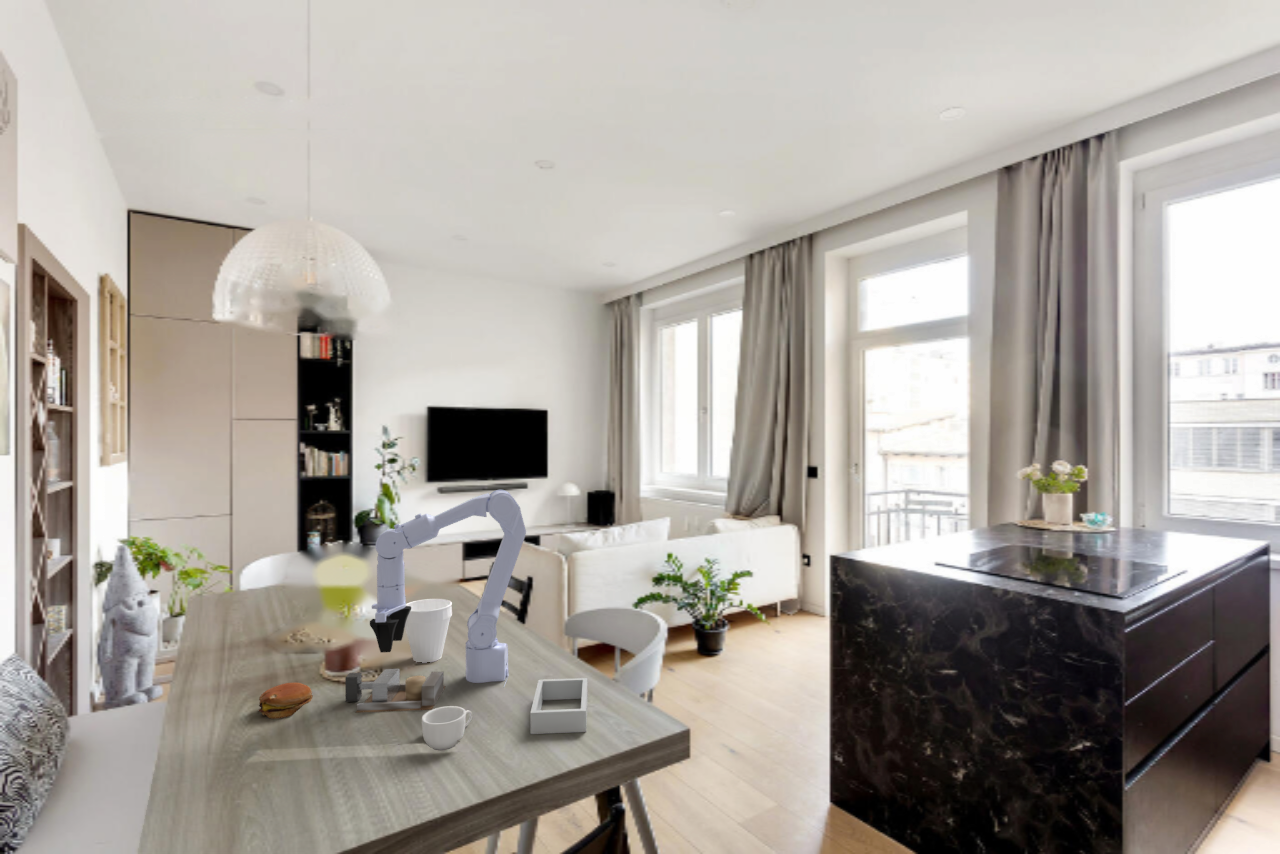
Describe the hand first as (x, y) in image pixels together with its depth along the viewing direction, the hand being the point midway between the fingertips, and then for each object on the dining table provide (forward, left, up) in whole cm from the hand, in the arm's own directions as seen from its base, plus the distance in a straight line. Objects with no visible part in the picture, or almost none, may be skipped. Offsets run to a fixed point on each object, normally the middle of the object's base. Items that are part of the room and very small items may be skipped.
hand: (391, 645), depth 142 cm
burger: (+20, +6, -11) cm, 23 cm away
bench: (-4, +7, -10) cm, 13 cm away
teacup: (-18, +24, -11) cm, 32 cm away
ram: (+2, +7, -9) cm, 11 cm away
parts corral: (-38, +14, -10) cm, 42 cm away
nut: (-7, +7, -9) cm, 13 cm away
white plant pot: (-2, -22, -11) cm, 25 cm away
